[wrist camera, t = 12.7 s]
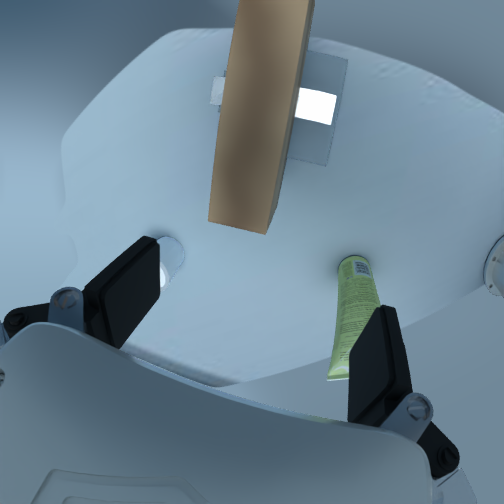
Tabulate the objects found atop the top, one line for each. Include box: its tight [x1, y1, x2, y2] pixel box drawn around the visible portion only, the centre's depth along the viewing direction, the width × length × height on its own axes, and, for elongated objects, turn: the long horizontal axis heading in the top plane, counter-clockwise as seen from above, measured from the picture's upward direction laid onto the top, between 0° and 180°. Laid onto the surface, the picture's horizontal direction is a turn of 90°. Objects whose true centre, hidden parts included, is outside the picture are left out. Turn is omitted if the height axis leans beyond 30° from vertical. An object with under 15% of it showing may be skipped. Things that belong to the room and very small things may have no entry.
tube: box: [327, 256, 381, 381], centre depth 32 cm, size 6×5×20 cm
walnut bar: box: [208, 0, 315, 235], centre depth 21 cm, size 5×22×7 cm, turn 171°
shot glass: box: [157, 236, 185, 292], centre depth 43 cm, size 7×7×7 cm
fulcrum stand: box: [210, 51, 348, 166], centre depth 27 cm, size 14×14×8 cm
